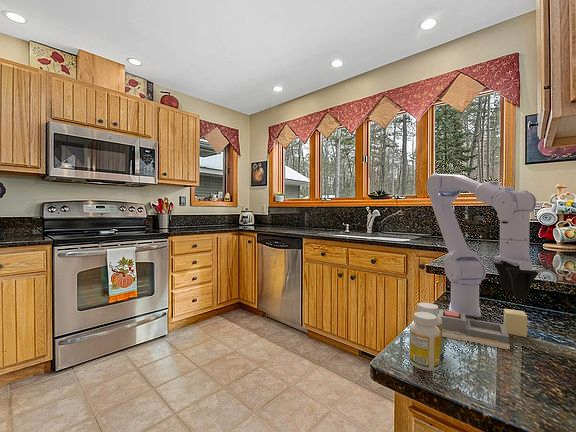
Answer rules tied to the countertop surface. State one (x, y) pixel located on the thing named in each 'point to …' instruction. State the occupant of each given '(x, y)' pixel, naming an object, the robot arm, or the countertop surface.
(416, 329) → the supplement bottle
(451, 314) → the plunger
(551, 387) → the countertop surface
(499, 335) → the panel
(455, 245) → the robot arm
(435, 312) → the supplement bottle
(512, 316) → the tan block
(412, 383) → the countertop surface
